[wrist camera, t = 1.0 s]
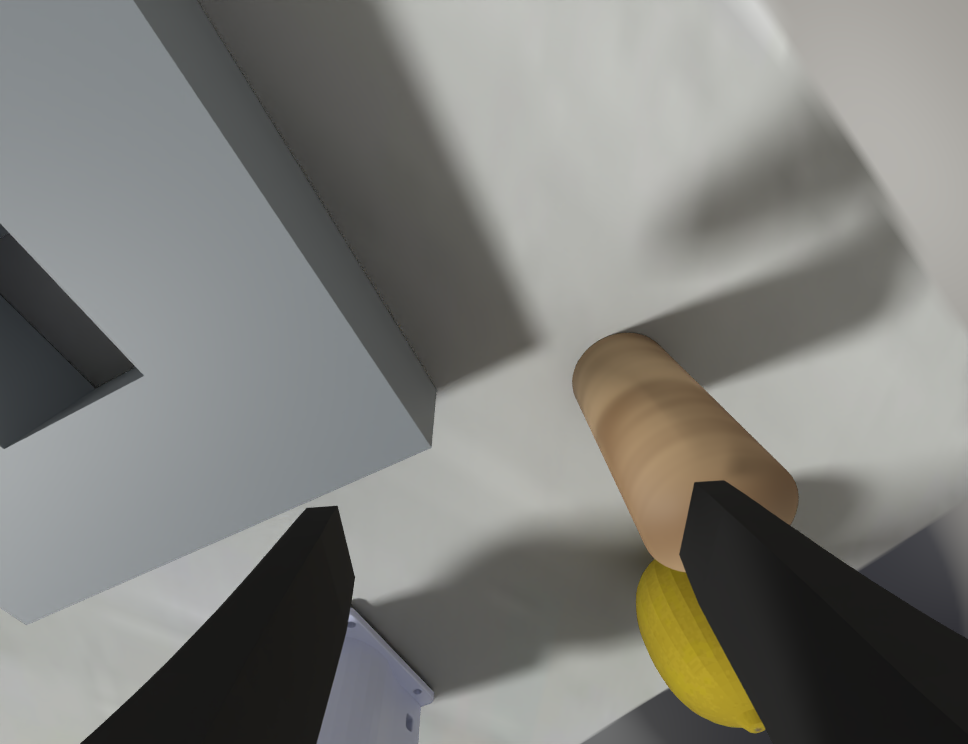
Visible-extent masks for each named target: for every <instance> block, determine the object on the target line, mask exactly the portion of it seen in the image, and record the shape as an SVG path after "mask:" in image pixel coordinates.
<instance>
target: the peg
mask: <svg viewBox="0 0 968 744" xmlns="http://www.w3.org/2000/svg"><path fill="white" fill-rule="evenodd" d="M572 385H573V392H574V395H575V397H576V399H577V402H578V404H579V406H580V408H581V410H582V412H583V414H584V416H585V419H586V421H587V423H588V425H589V427H590V429H591V431H592V433H593V436H594V438H595V440H596V442H597V444H598V446H599V448H600V450H601V453H602V455H603V457H604V459H605V461H606V463H607V465H608V468H609V470H610V472H611V474H612V476H613V478H614V480H615V482H616V485H617V487H618V489H619V491H620V493H621V495H622V497H623V499H624V502H625V504H626V506H627V508H628V510H629V512H630V514H631V516H632V519H633V521H634V523H635V525H636V527H637V529H638V531H639V534H640V536H641V538H642V540H643V542H644V544H645V546H646V548H647V550H648V552H649V553H650V554H651V555H652V557H653V558H654V559H656V560H657V561H658V562H659V563H661V564H663V565H664V566H666V567H668V568H671V569H673V570H677V571H681V572H686V571H685V569H684V566H683V563H682V561H681V558H680V556H679V553H680V548H681V543H682V539H683V534H684V529H685V524H686V519H687V515H688V510H689V505H690V500H691V496H692V491H693V486H694V482H704V481H719V480H724V481H726V482H728V483H729V484H731V485H732V486H734V487H735V488H737V489H738V490H740V491H741V492H743V493H744V494H746V495H747V496H749V497H750V498H751V499H753V500H754V501H756V502H757V503H759V504H760V505H761V506H763V507H764V508H766V509H767V510H769V511H770V512H771V513H773V514H774V515H776V516H777V517H779V518H780V519H781V520H783V521H784V522H786V523H787V524H789V525H791V523H792V521H793V519H794V517H795V514H796V511H797V507H798V499H799V496H798V489H797V486H796V483H795V481H794V479H793V478H792V476H791V475H790V474H789V472H788V471H787V470H786V469H785V468H784V467H783V466H782V465H781V464H780V463H779V462H778V461H777V460H776V459H775V458H774V457H773V456H772V455H770V454H769V453H768V452H767V451H766V450H765V449H764V448H763V447H762V446H761V445H760V444H759V443H758V442H757V441H756V440H755V439H754V438H753V437H752V436H751V435H750V434H749V433H748V432H747V431H746V430H745V429H744V428H743V427H742V426H741V425H740V424H739V423H738V422H737V421H736V420H735V419H734V418H733V417H732V416H731V415H730V414H729V413H728V412H727V411H726V410H725V409H724V408H723V407H722V406H721V405H720V404H719V403H718V402H717V401H716V400H715V399H714V398H713V397H712V396H710V395H709V394H708V393H707V392H706V391H705V390H704V389H703V388H702V387H701V386H700V385H699V384H698V383H697V382H696V381H695V380H694V379H693V378H692V377H691V376H690V375H689V374H688V373H687V372H686V371H685V370H684V369H683V368H682V367H681V366H680V365H679V364H678V363H677V362H676V361H675V360H674V359H673V358H672V357H671V356H670V355H669V354H668V353H667V352H666V351H665V350H664V349H663V348H662V347H661V346H660V345H659V344H658V343H656V342H655V341H654V340H652V339H651V338H649V337H647V336H644V335H642V334H638V333H618V334H614V335H610V336H608V337H605V338H603V339H601V340H599V341H597V342H596V343H595V344H593V345H592V346H591V347H589V348H588V349H587V350H586V351H585V352H584V354H583V355H582V356H581V358H580V359H579V361H578V363H577V364H576V367H575V370H574V373H573V380H572Z"/></svg>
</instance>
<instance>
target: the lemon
mask: <svg viewBox="0 0 968 744" xmlns="http://www.w3.org/2000/svg"><path fill="white" fill-rule="evenodd" d="M636 612H637V620H638V625H639V629H640V633H641V635H642V638H643V641H644V643H645V646H646V648H647V650H648V653H649V655H650V657H651V659H652V661H653V663H654V665H655V667H656V668H657V670H658V672H659V674H660V675H661V677H662V678H663V680H664V681H665V683H666V684H667V685H668V687H669V688H670V689H671V691H672V692H673V693H674V694H675V695H676V696H677V697H678V698H679V699H680V700H681V701H682V702H683V703H684V704H685V705H686V706H687V707H688V708H689V709H691V710H692V711H693V712H695V713H697V714H698V715H700V716H702V717H704V718H706V719H708V720H710V721H712V722H715V723H717V724H720V725H724V726H729V727H741V728H744V729H746V730H747V731H749V732H751V733H759V732H761V731H764V730H765V727H764V725H763V723H762V721H761V720H760V718H759V716H758V714H757V712H756V710H755V708H754V707H753V705H752V703H751V701H750V699H749V697H748V696H747V694H746V692H745V690H744V688H743V686H742V684H741V683H740V681H739V679H738V677H737V675H736V673H735V671H734V670H733V668H732V666H731V664H730V662H729V660H728V659H727V657H726V655H725V653H724V651H723V649H722V647H721V646H720V644H719V642H718V640H717V638H716V636H715V634H714V632H713V631H712V629H711V627H710V625H709V623H708V621H707V619H706V617H705V615H704V614H703V612H702V610H701V608H700V606H699V604H698V601H697V599H696V596H695V594H694V592H693V589H692V587H691V584H690V582H689V579H688V577H687V574H686V572H681V571H677V570H673V569H671V568H668V567H666V566H664V565H663V564H661V563H659V562H658V561H657V560H656V559H654V560H653V561H652V562H651V563H650V564H649V565H648V567H647V568H646V570H645V571H644V572H643V574H642V576H641V579H640V582H639V584H638V587H637V592H636Z"/></svg>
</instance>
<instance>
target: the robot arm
mask: <svg viewBox="0 0 968 744" xmlns="http://www.w3.org/2000/svg"><path fill="white" fill-rule="evenodd" d="M679 556H680V558H681V561H682V563H683V566H684V569H685V571H686V574H687V577H688V579H689V582H690V584H691V587H692V589H693V592H694V594H695V596H696V599H697V601H698V604H699V606H700V608H701V610H702V612H703V614H704V615H705V617H706V619H707V621H708V623H709V625H710V627H711V629H712V631H713V632H714V634H715V636H716V638H717V640H718V642H719V644H720V646H721V647H722V649H723V651H724V653H725V655H726V657H727V659H728V660H729V662H730V664H731V666H732V668H733V670H734V671H735V673H736V675H737V677H738V679H739V681H740V683H741V684H742V686H743V688H744V690H745V692H746V694H747V696H748V697H749V699H750V701H751V703H752V705H753V707H754V708H755V710H756V712H757V714H758V716H759V718H760V720H761V721H762V723H763V725H764V727H765V729H766V731H767V733H768V735H769V737H770V739H771V741H772V743H773V744H968V639H966V638H965V637H963V636H961V635H960V634H958V633H956V632H954V631H953V630H951V629H949V628H947V627H946V626H944V625H942V624H941V623H939V622H937V621H936V620H934V619H932V618H930V617H929V616H927V615H926V614H924V613H922V612H921V611H919V610H917V609H916V608H914V607H913V606H911V605H909V604H908V603H906V602H905V601H903V600H901V599H900V598H898V597H897V596H895V595H894V594H892V593H890V592H889V591H887V590H886V589H884V588H882V587H881V586H879V585H878V584H876V583H874V582H873V581H871V580H870V579H868V578H867V577H865V576H864V575H862V574H861V573H859V572H858V571H856V570H855V569H853V568H851V567H850V566H848V565H847V564H845V563H844V562H842V561H841V560H839V559H838V558H837V557H835V556H834V555H832V554H831V553H829V552H828V551H826V550H825V549H823V548H822V547H820V546H819V545H817V544H816V543H814V542H813V541H812V540H810V539H809V538H807V537H806V536H804V535H803V534H801V533H800V532H799V531H797V530H796V529H794V528H793V527H791V526H790V525H789V524H787V523H786V522H784V521H783V520H781V519H780V518H779V517H777V516H776V515H774V514H773V513H771V512H770V511H769V510H767V509H766V508H764V507H763V506H761V505H760V504H759V503H757V502H756V501H754V500H753V499H751V498H750V497H749V496H747V495H746V494H744V493H743V492H741V491H740V490H738V489H737V488H735V487H734V486H732V485H731V484H729V483H728V482H726V481H724V480H719V481H704V482H694V486H693V491H692V496H691V500H690V505H689V510H688V515H687V519H686V524H685V529H684V534H683V539H682V543H681V548H680V553H679ZM354 580H355V576H354V572H353V568H352V563H351V559H350V555H349V551H348V547H347V543H346V539H345V535H344V531H343V526H342V522H341V518H340V514H339V510H338V506H329V507H314V508H306V509H305V510H304V511H303V513H302V514H301V515H300V516H299V517H298V518H297V519H296V521H295V522H294V523H293V524H292V525H291V526H290V527H289V529H288V530H287V531H286V532H285V533H284V535H283V536H282V537H281V538H280V539H279V540H278V542H277V543H276V544H275V545H274V546H273V547H272V549H271V550H270V551H269V552H268V553H267V554H266V556H265V557H264V558H263V559H262V560H261V561H260V563H259V564H258V565H257V566H256V567H255V568H254V569H253V571H252V572H251V573H250V574H249V575H248V576H247V577H246V578H245V580H244V581H243V582H242V583H241V584H240V585H239V586H238V587H237V588H236V590H235V591H234V592H233V593H232V594H231V595H230V596H229V597H228V599H227V600H226V601H225V602H224V603H223V604H222V605H221V606H220V607H219V608H218V610H217V611H216V612H215V613H214V614H213V615H212V616H211V617H210V618H209V619H208V620H207V621H206V622H205V623H204V624H203V625H202V626H201V627H200V628H199V630H198V631H197V632H196V633H195V634H194V635H193V636H192V637H191V638H190V639H189V640H188V641H187V642H186V643H185V644H184V645H183V646H182V647H181V648H180V649H179V650H178V651H177V652H176V653H175V654H174V656H173V657H172V658H171V659H170V660H169V661H168V662H167V663H166V664H165V665H164V666H163V667H162V668H161V669H160V670H159V671H157V672H156V673H155V674H154V675H153V676H152V677H151V678H150V679H149V680H148V681H147V682H146V683H145V684H144V685H143V686H142V687H141V688H140V689H139V690H138V691H137V692H136V693H135V694H134V695H133V696H132V697H131V698H130V699H128V700H127V701H126V702H125V703H124V704H123V705H122V706H121V707H120V708H119V709H118V710H117V711H115V712H114V713H113V714H112V715H111V716H110V717H109V718H108V719H107V720H106V721H105V722H104V723H103V724H101V725H100V726H99V727H98V728H97V729H96V730H95V731H94V732H93V733H92V734H90V735H89V736H88V737H87V738H86V739H85V740H84V741H82V742H81V743H80V744H418V740H419V725H420V710H421V707H422V706H424V705H427V704H430V703H432V702H433V701H434V692H433V691H432V690H431V689H430V688H429V687H428V685H427V684H426V683H425V682H424V681H423V680H422V679H421V678H420V677H419V676H418V675H417V674H416V673H415V672H414V671H413V670H412V669H411V668H410V667H409V666H408V665H407V664H406V663H405V662H404V661H403V659H402V658H401V657H400V656H399V655H398V654H397V653H396V652H395V651H394V650H393V649H392V648H391V647H390V646H389V645H388V644H387V643H386V642H385V641H384V640H383V639H382V638H381V637H380V636H379V634H378V633H377V632H376V631H375V630H374V629H373V628H372V627H371V626H370V625H369V624H368V623H367V622H366V621H365V620H364V619H363V618H362V617H361V616H360V615H359V614H358V613H357V612H356V611H355V610H354V609H353V608H351V601H352V594H353V587H354Z"/></svg>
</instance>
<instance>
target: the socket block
mask: <svg viewBox="0 0 968 744" xmlns="http://www.w3.org/2000/svg"><path fill="white" fill-rule="evenodd" d="M8 233H10V234H11V235H12V236H13V237H14V238H15V240H16V241H17V242H18V243H19V244H20V245H21V246H22V247H23V248H24V249H25V250H26V251H27V252H28V253H29V254H30V255H31V256H32V258H33V259H34V260H35V261H36V262H37V263H38V264H39V265H40V266H41V267H42V268H43V269H44V270H45V271H46V272H47V273H48V275H49V276H50V277H51V278H52V279H53V280H54V281H55V282H56V283H57V284H58V285H59V286H60V287H61V288H62V289H63V290H64V291H65V293H66V294H67V295H68V296H69V297H70V298H71V299H72V300H73V301H74V302H75V303H76V304H77V305H78V306H79V307H80V308H81V309H82V311H83V312H84V313H85V314H86V315H87V316H88V317H89V318H90V319H91V320H92V321H93V322H94V323H95V324H96V325H97V326H98V327H99V329H100V330H101V331H102V332H103V333H104V334H105V335H106V336H107V337H108V338H109V339H110V340H111V341H112V342H113V343H114V344H115V345H116V347H117V348H118V349H119V350H120V351H121V352H122V353H123V354H124V355H125V356H126V357H127V358H128V359H129V360H130V361H131V362H132V363H133V365H134V366H135V368H133V369H132V370H130V371H128V372H126V373H124V374H122V375H120V376H118V377H116V378H115V379H113V380H111V381H109V382H107V383H105V384H103V385H101V386H99V387H98V388H96V389H95V388H94V387H93V386H92V385H91V384H90V383H89V382H88V381H87V380H86V379H85V378H84V377H83V376H82V375H81V374H80V373H79V372H78V371H77V370H76V369H75V368H74V367H73V366H72V365H71V364H70V363H69V362H68V361H67V360H66V359H65V358H64V357H63V356H62V355H61V354H60V353H59V352H58V351H57V350H56V349H55V348H54V347H53V346H52V345H51V344H50V343H49V342H48V341H47V340H46V339H45V338H44V337H43V336H41V335H40V334H39V333H38V332H37V331H36V330H35V329H34V328H33V327H32V326H31V325H30V324H29V323H28V322H27V321H26V320H25V319H24V318H23V317H22V316H21V315H20V314H19V313H18V312H17V311H16V310H15V309H14V308H13V307H12V306H11V305H10V304H9V303H8V302H7V301H6V300H5V299H4V298H3V297H2V296H1V295H0V608H1V609H3V610H4V611H6V612H7V613H9V614H10V615H12V616H13V617H15V618H16V619H18V620H19V621H21V622H22V623H24V624H25V625H28V624H30V623H33V622H35V621H37V620H39V619H42V618H44V617H46V616H48V615H51V614H53V613H55V612H58V611H60V610H62V609H64V608H67V607H69V606H71V605H74V604H76V603H78V602H80V601H83V600H85V599H87V598H90V597H92V596H94V595H96V594H99V593H101V592H103V591H105V590H108V589H110V588H112V587H115V586H117V585H119V584H121V583H124V582H126V581H128V580H131V579H133V578H135V577H137V576H140V575H142V574H144V573H147V572H149V571H151V570H153V569H156V568H158V567H160V566H163V565H165V564H167V563H169V562H172V561H174V560H176V559H178V558H181V557H183V556H185V555H188V554H190V553H192V552H194V551H197V550H199V549H201V548H204V547H206V546H208V545H210V544H213V543H215V542H217V541H220V540H222V539H224V538H226V537H229V536H231V535H233V534H235V533H238V532H240V531H242V530H245V529H247V528H249V527H251V526H254V525H256V524H258V523H261V522H263V521H265V520H267V519H270V518H272V517H274V516H277V515H279V514H281V513H283V512H286V511H288V510H290V509H293V508H295V507H297V506H299V505H302V504H304V503H306V502H308V501H311V500H313V499H315V498H318V497H320V496H322V495H324V494H327V493H329V492H331V491H334V490H336V489H338V488H340V487H343V486H345V485H347V484H350V483H352V482H354V481H356V480H359V479H361V478H363V477H366V476H368V475H370V474H372V473H375V472H377V471H379V470H381V469H384V468H386V467H388V466H391V465H393V464H395V463H397V462H400V461H402V460H404V459H407V458H409V457H411V456H413V455H416V454H418V453H420V452H423V451H425V450H427V449H429V448H431V446H432V435H433V424H434V412H435V401H436V388H435V387H434V385H433V383H432V382H431V380H430V379H429V377H428V375H427V374H426V372H425V370H424V369H423V367H422V366H421V364H420V362H419V361H418V359H417V357H416V356H415V354H414V352H413V351H412V349H411V348H410V346H409V344H408V343H407V341H406V339H405V338H404V336H403V335H402V333H401V331H400V330H399V328H398V326H397V325H396V323H395V322H394V320H393V318H392V317H391V315H390V313H389V312H388V310H387V309H386V307H385V305H384V304H383V302H382V300H381V299H380V297H379V296H378V294H377V292H376V291H375V289H374V287H373V286H372V284H371V283H370V281H369V279H368V278H367V276H366V274H365V273H364V271H363V270H362V268H361V266H360V265H359V263H358V261H357V260H356V258H355V257H354V255H353V253H352V252H351V250H350V248H349V247H348V245H347V243H346V242H345V240H344V239H343V237H342V235H341V234H340V232H339V230H338V229H337V227H336V226H335V224H334V222H333V221H332V219H331V217H330V216H329V214H328V213H327V211H326V209H325V208H324V206H323V204H322V203H321V201H320V200H319V198H318V196H317V195H316V193H315V191H314V190H313V188H312V187H311V185H310V183H309V182H308V180H307V178H306V177H305V175H304V174H303V172H302V170H301V169H300V167H299V165H298V164H297V162H296V161H295V159H294V157H293V156H292V154H291V152H290V151H289V149H288V148H287V146H286V144H285V143H284V141H283V139H282V138H281V136H280V134H279V133H278V131H277V130H276V128H275V126H274V125H273V123H272V121H271V120H270V118H269V117H268V115H267V113H266V112H265V110H264V108H263V107H262V105H261V104H260V102H259V100H258V99H257V97H256V95H255V94H254V92H253V91H252V89H251V87H250V86H249V84H248V82H247V81H246V79H245V78H244V76H243V74H242V73H241V71H240V69H239V68H238V66H237V65H236V63H235V61H234V60H233V58H232V56H231V55H230V53H229V52H228V50H227V48H226V47H225V45H224V43H223V42H222V40H221V39H220V37H219V35H218V34H217V32H216V30H215V29H214V27H213V26H212V24H211V22H210V21H209V19H208V17H207V16H206V14H205V12H204V11H203V9H202V8H201V6H200V4H199V3H198V1H197V0H0V238H2V237H3V236H5V235H7V234H8Z"/></svg>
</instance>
